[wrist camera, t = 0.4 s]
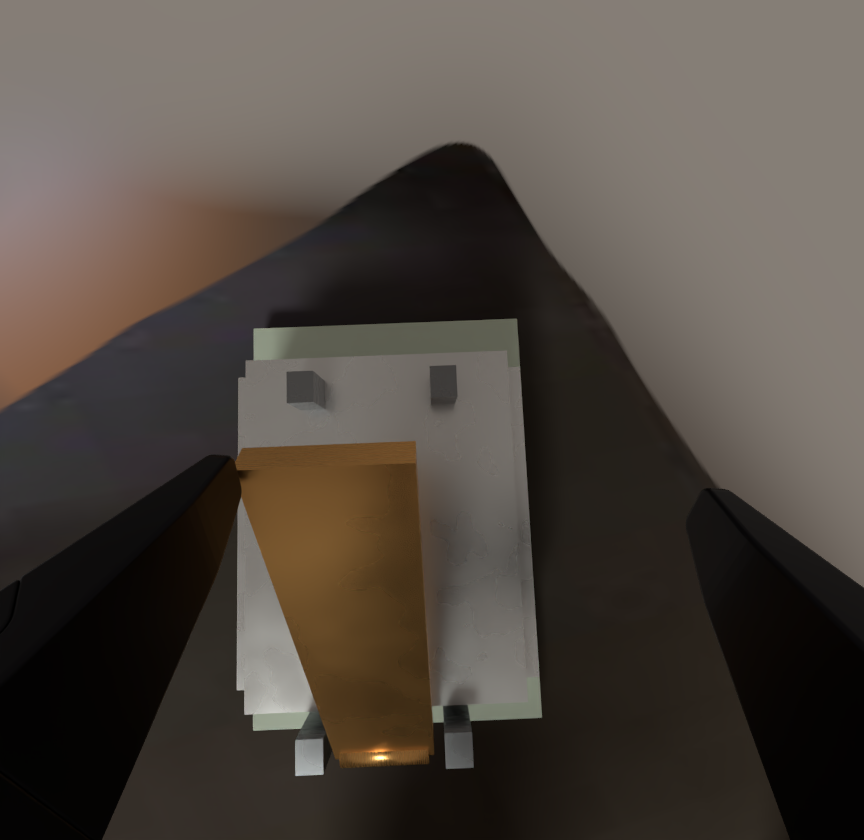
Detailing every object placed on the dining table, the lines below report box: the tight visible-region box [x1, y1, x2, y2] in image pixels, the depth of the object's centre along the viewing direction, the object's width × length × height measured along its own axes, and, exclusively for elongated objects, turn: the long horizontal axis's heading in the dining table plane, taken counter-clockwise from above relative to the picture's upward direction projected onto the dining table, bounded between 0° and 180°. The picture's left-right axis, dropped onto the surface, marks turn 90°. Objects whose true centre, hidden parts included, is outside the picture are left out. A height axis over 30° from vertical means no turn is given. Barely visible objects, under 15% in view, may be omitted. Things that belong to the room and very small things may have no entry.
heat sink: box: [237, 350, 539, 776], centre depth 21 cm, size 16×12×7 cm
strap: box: [235, 441, 434, 768], centre depth 14 cm, size 15×4×1 cm
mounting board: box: [253, 319, 542, 731], centre depth 25 cm, size 20×14×2 cm
